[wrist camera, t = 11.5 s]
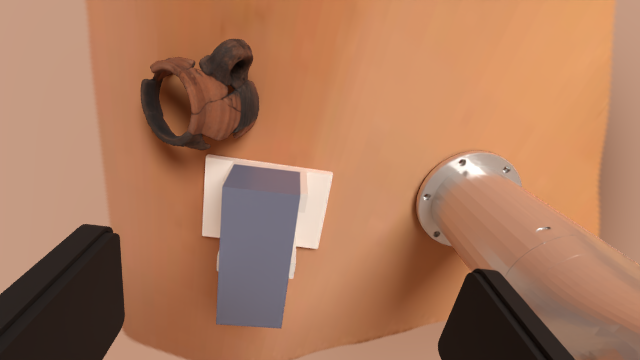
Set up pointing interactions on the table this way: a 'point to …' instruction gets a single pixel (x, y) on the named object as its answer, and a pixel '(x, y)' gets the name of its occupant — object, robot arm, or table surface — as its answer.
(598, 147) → the table surface
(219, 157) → the display stand
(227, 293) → the blue-grey rectangular block
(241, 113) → the pottery mug
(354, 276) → the table surface
